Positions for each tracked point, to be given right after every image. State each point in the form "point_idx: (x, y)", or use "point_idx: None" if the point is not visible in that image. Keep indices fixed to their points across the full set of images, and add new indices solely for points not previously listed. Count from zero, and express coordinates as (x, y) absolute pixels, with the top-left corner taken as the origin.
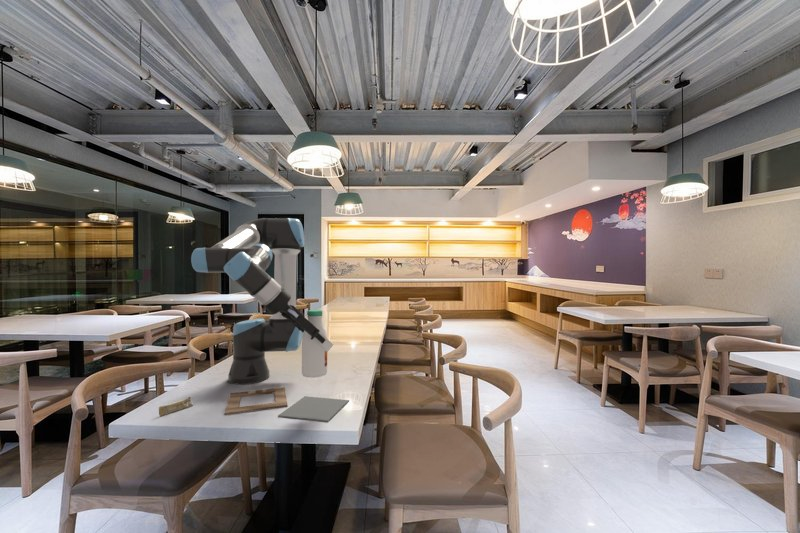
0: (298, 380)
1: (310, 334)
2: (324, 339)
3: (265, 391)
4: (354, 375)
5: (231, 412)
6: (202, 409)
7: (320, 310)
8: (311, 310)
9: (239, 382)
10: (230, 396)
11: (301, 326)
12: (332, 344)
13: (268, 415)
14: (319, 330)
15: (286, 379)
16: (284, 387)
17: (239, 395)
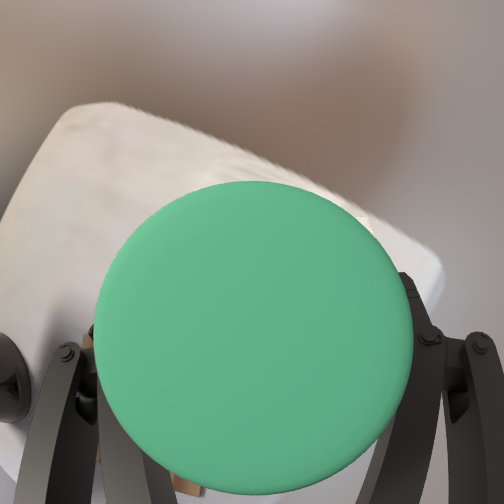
0: (51, 280)
1: (447, 403)
2: (412, 283)
3: None
4: (98, 135)
5: (200, 486)
6: None
7: (332, 234)
8: (249, 435)
9: (25, 410)
10: (99, 460)
11: (452, 496)
12: (368, 223)
13: None
14: (487, 336)
15: (33, 305)
16: (88, 336)
17: (99, 444)
